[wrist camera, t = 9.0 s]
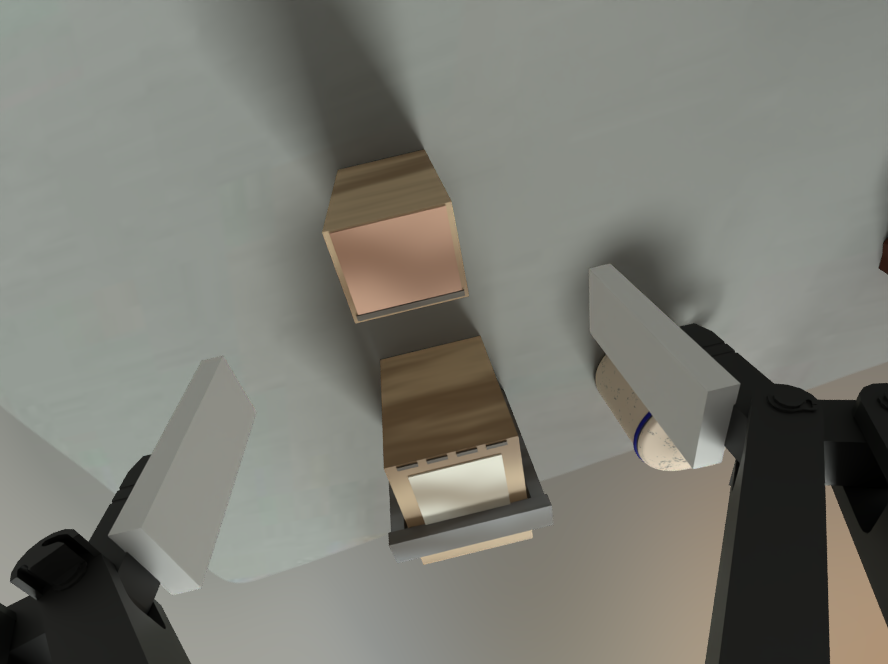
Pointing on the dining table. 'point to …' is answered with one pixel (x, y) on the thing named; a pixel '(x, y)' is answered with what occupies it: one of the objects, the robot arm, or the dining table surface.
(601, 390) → the teacup with lid
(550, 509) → the tan wooden crate
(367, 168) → the pink-ended wooden block
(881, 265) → the muffin
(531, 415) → the dining table surface
